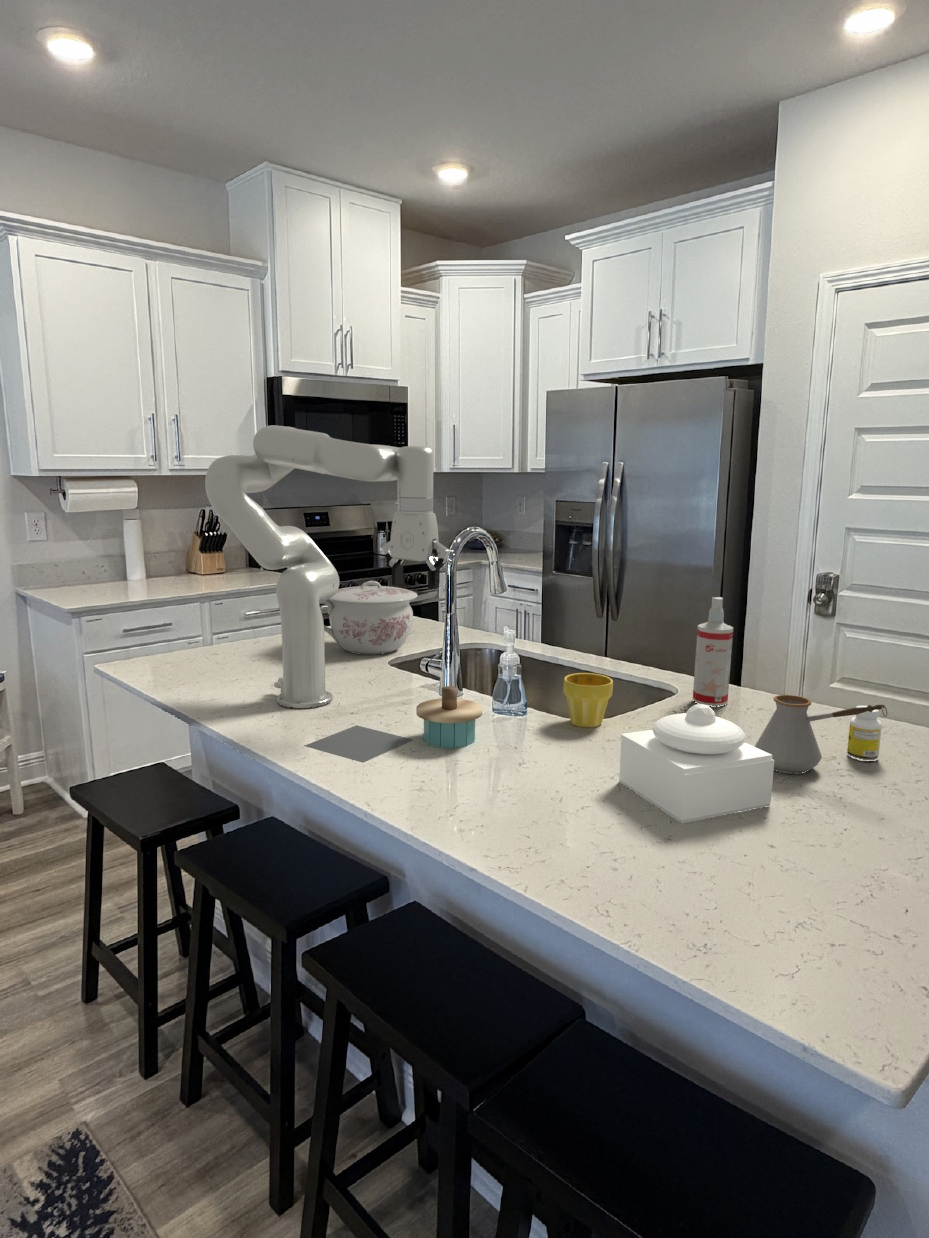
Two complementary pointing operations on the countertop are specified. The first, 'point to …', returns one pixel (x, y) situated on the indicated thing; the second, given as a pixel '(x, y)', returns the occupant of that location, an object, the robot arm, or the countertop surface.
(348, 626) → the chamber pot
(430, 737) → the bowl
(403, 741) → the mat
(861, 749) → the supplement bottle
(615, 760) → the countertop surface
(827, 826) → the countertop surface
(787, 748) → the coffee pot
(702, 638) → the spray bottle
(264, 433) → the robot arm
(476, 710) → the lid
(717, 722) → the white square canister
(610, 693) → the plant pot
